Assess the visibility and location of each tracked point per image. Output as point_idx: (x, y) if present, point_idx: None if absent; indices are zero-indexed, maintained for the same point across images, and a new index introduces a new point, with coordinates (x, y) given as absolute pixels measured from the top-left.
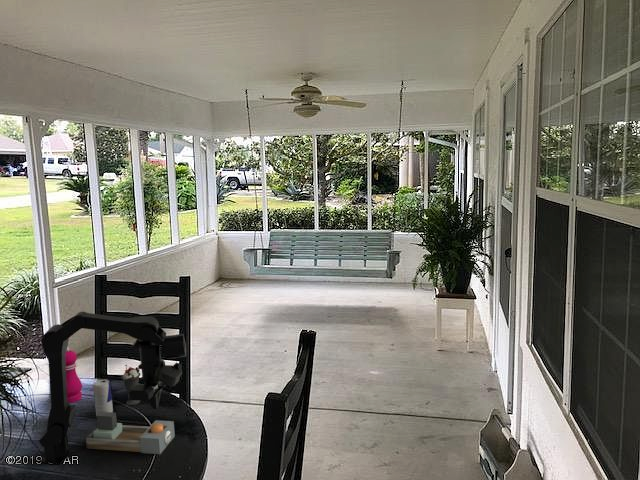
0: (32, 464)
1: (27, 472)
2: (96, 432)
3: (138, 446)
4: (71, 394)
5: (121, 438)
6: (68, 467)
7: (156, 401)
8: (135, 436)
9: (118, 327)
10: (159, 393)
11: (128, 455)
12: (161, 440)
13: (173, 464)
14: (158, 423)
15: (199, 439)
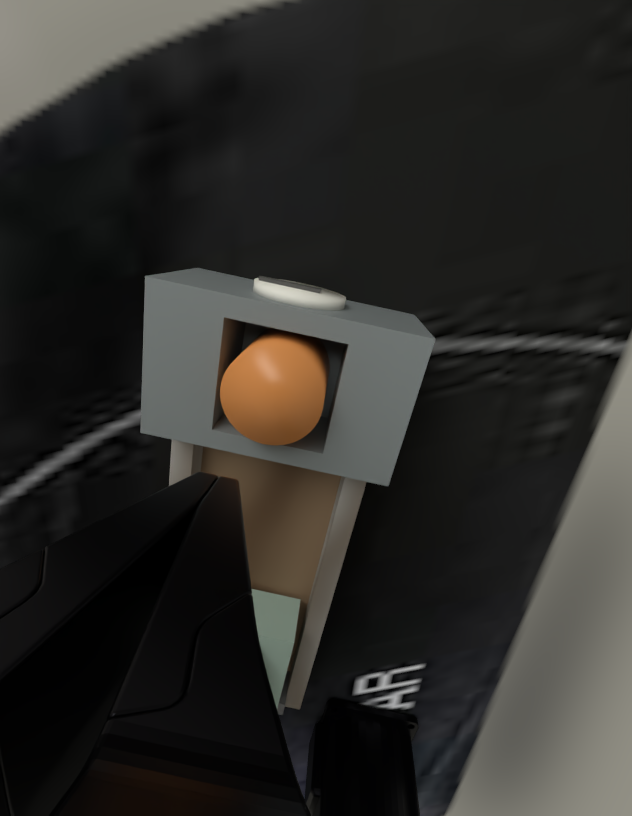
0: None
1: (448, 781)
2: (278, 702)
3: None
4: None
5: (263, 564)
6: (446, 687)
7: (234, 565)
8: (244, 503)
9: None
10: (13, 645)
11: (392, 490)
12: (388, 322)
13: (566, 182)
14: (222, 396)
15: (240, 34)
